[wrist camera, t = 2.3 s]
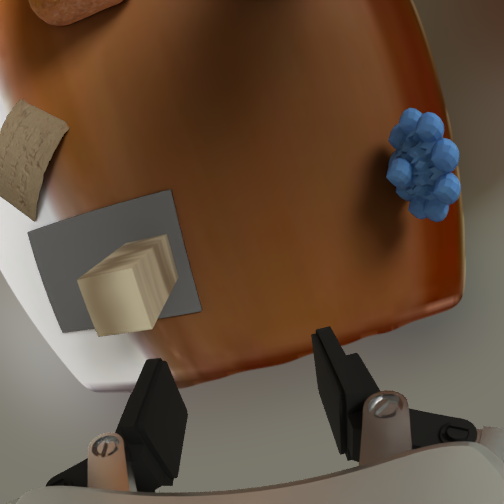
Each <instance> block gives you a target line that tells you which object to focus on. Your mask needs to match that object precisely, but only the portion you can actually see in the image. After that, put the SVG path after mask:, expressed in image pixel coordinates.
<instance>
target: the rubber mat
mask: <svg viewBox="0 0 504 504" xmlns="http://www.w3.org/2000/svg"><path fill="white" fill-rule="evenodd" d="M164 234H167V236H168V240H169V244H170V247H171V251H172V255H173V259H174V262H175V266H176V270H177V273H178V277H179V278H178V279H177V281H176V283H175V285H174V287H173V289H172V291H171V293H170V295H169V297H168V299H167V301H166V303H165V305H164V307H163V309H162V311H161V313H160V315H159V317H158V319H159V318H165V317H171V316H177V315H183V314H188V313H194V312H200V311H202V307H201V304H200V300H199V297H198V293H197V290H196V286H195V283H194V279H193V275H192V271H191V268H190V264H189V260H188V256H187V253H186V249H185V245H184V241H183V237H182V233H181V229H180V225H179V221H178V217H177V212H176V208H175V204H174V200H173V195H172V191H171V189H170V190H166V191H162V192H158V193H155V194H151V195H147V196H143V197H140V198H136V199H132V200H129V201H125V202H121V203H118V204H114V205H111V206H108V207H104V208H101V209H97V210H94V211H91V212H88V213H84V214H81V215H78V216H75V217H72V218H68V219H65V220H62V221H59V222H56V223H53V224H50V225H47V226H44V227H41V228H39V229H36V230H33V231H30V232H28V236H29V240H30V243H31V247H32V250H33V253H34V257H35V260H36V263H37V266H38V269H39V272H40V275H41V278H42V281H43V284H44V287H45V290H46V292H47V295H48V298H49V301H50V303H51V306H52V308H53V311H54V313H55V316H56V318H57V321H58V323H59V325H60V328H61V330H62V332H63V333H64V332H72V331H80V330H87V329H94V328H95V327H94V325H93V322H92V320H91V317H90V315H89V312H88V310H87V307H86V304H85V302H84V299H83V296H82V293H81V291H80V288H79V285H78V282H77V280H78V279H79V278H80V277H81V276H83V275H84V274H85V273H87V272H88V271H89V270H91V269H92V268H93V267H94V266H96V265H97V264H98V263H100V262H101V261H102V260H104V259H105V258H106V257H108V256H109V255H111V254H112V253H113V252H115V251H116V250H117V249H119V248H120V247H121V246H123V245H124V244H126V243H130V242H134V241H138V240H142V239H147V238H151V237H155V236H159V235H164Z"/></svg>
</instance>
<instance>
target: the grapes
mask: <svg viewBox="0 0 504 504" xmlns="http://www.w3.org/2000/svg"><path fill="white" fill-rule="evenodd" d="M443 133H444V125H443V122H442V121H441V119H440V118H439V117H438V116H437V115H436V114H435V113H431V112H426V113H424V114H422V113H421V112H419V111H418V110H417V109H414V108H409V109H407V110H405V111H404V112H403V114H402V115H401V117H400V120H399V124H397V125H395V126H394V128H393V129H392V131H391V133H390V136H389V142H390V144H391V145H392V146H393V147H394V148H395V149H396V151H394V152H393V154H392V155H391V157H390V160H389V164H388V167H389V168H388V171H387V175H386V178H387V179H388V180H389V181H390V182H391V183H392V184H393V185H394V186H396V193H397V194H398V195H399V196H400V197H401V198H402V199H403V200H406V201H410V203H409V209H408V210H409V211H410V212H411V214H413V215H414V216H415V217H416V218H419V219H424V218H427V217H428V218H429V219H430V220H432V221H435V222H439V221H442V220H443V219H444V218H445V217H446V216H447V213H448V210H449V204H453V203H454V202H455V201H456V200H457V199H458V197H459V194H460V190H461V185H460V182H459V180H458V178H457V177H456V176H455V175H454V174H453V173H450V172H451V171H453V170H454V169H455V168H456V166H457V165H458V161H459V150H458V148H457V146H456V145H455V144H454V143H453V142H452V141H451V140H450V139H446V138H442V137H443Z"/></svg>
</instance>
